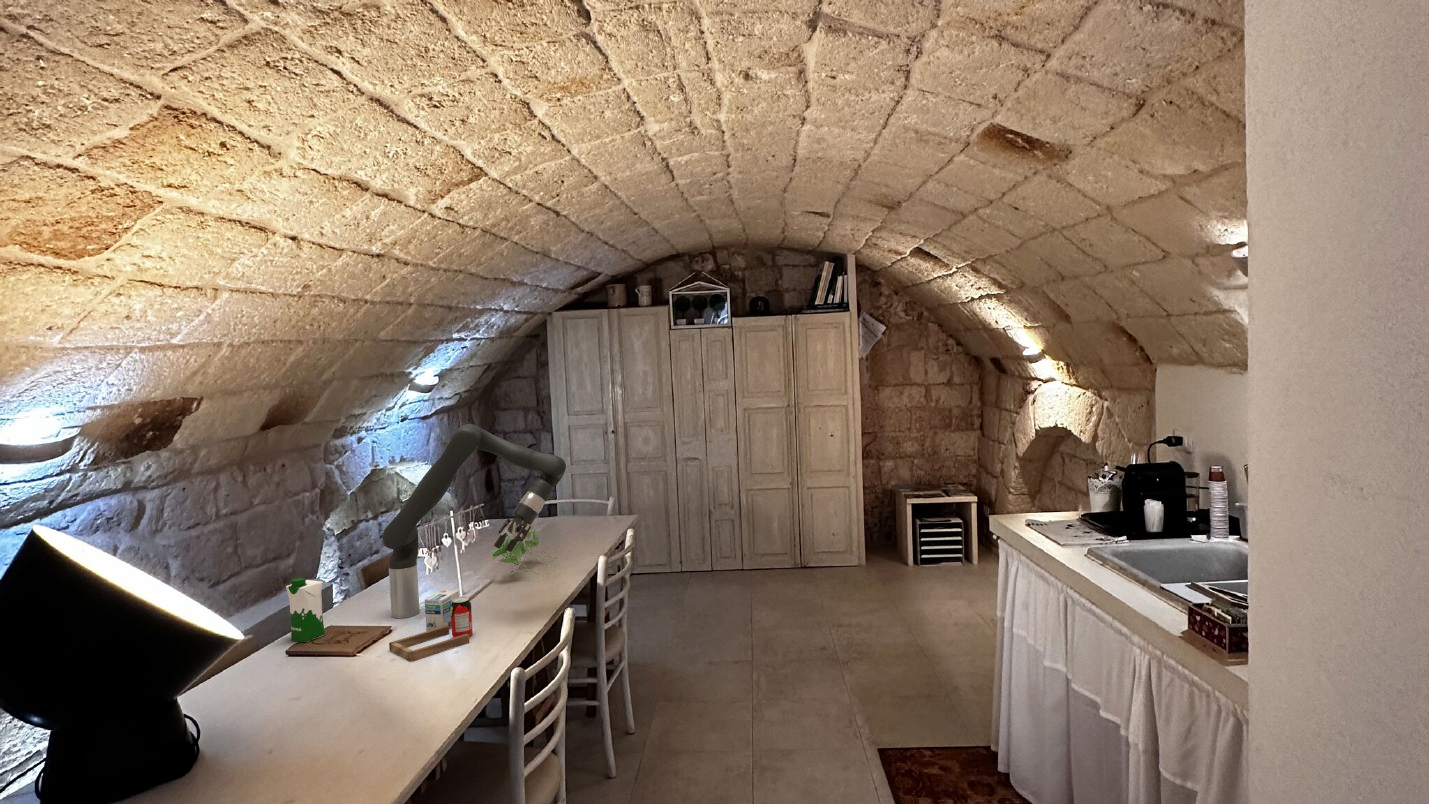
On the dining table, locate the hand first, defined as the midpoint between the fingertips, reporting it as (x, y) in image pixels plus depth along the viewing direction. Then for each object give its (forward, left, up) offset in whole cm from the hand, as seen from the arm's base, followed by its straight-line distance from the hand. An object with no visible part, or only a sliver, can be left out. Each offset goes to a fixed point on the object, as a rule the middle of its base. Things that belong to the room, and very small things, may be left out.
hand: (501, 549), depth 255 cm
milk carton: (-41, -47, -25) cm, 68 cm away
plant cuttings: (-47, +39, -26) cm, 66 cm away
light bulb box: (-15, -14, -26) cm, 33 cm away
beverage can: (-1, -15, -26) cm, 30 cm away
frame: (-1, -26, -25) cm, 37 cm away
